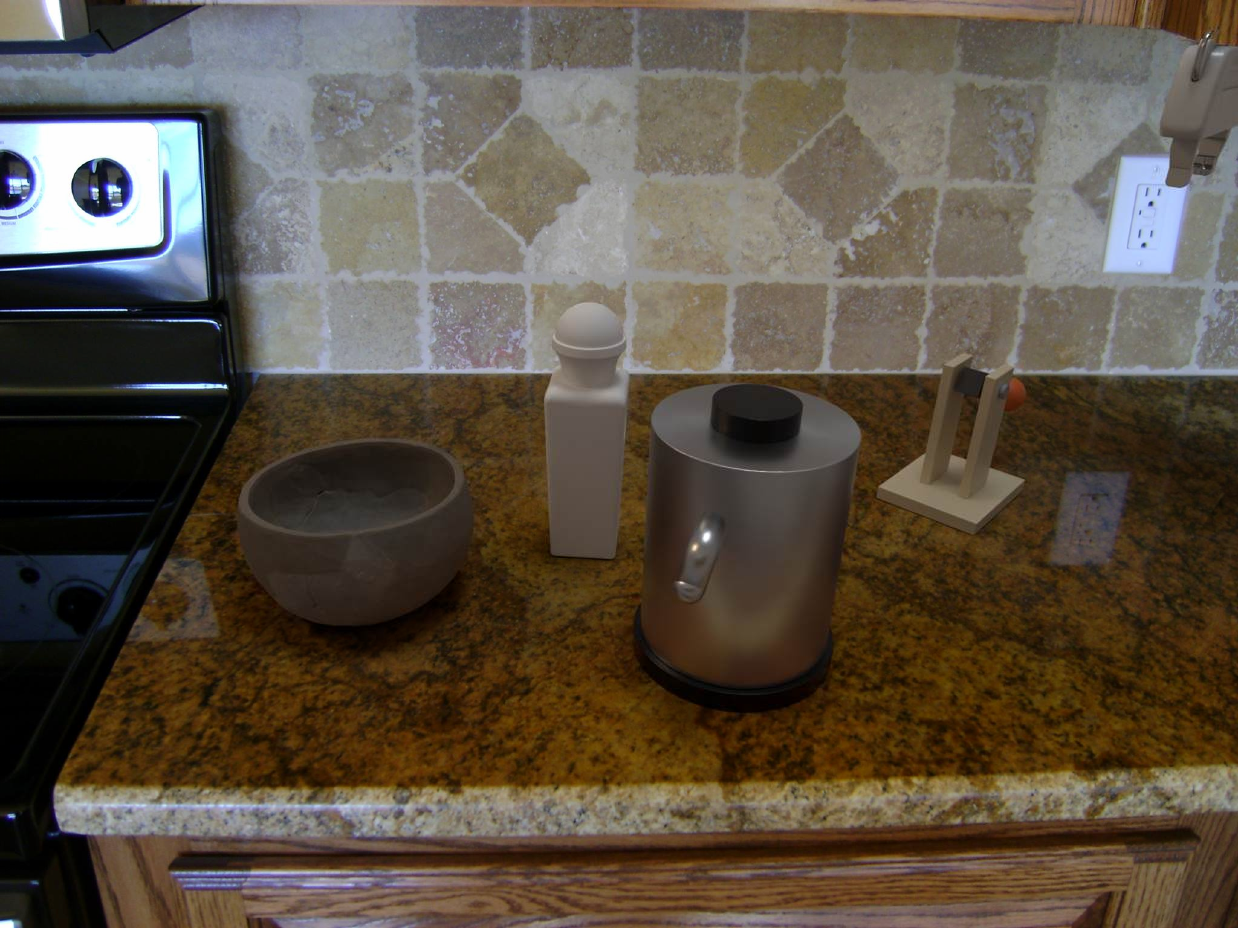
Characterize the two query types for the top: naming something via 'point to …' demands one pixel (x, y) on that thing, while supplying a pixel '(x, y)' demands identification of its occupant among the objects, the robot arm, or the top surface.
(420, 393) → the top surface
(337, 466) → the bowl
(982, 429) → the stand
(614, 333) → the white square bottle
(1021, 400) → the lever
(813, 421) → the kettle
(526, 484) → the top surface
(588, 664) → the top surface
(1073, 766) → the top surface
